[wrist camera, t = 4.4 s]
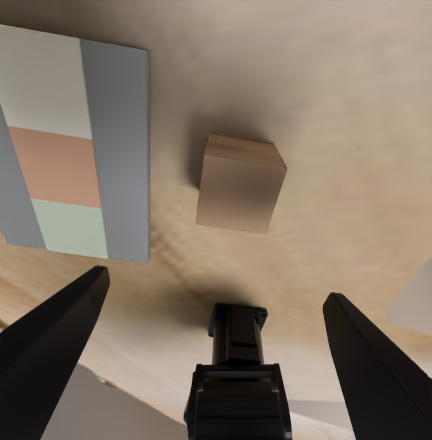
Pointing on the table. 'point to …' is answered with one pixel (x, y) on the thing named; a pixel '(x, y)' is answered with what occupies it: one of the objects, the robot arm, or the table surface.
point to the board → (74, 145)
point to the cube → (239, 184)
